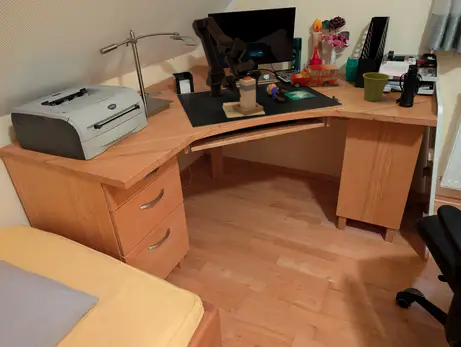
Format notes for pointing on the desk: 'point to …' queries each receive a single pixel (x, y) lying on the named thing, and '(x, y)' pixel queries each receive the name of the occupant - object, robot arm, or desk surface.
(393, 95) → the desk surface
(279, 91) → the character figurine
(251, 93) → the tapered square pillar
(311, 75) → the red toy bus
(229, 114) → the jig
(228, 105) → the plate
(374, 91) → the plant pot
